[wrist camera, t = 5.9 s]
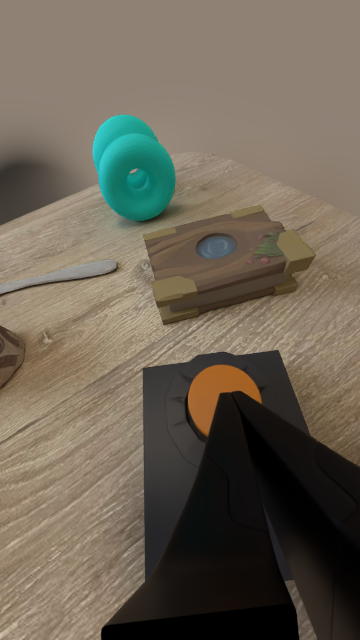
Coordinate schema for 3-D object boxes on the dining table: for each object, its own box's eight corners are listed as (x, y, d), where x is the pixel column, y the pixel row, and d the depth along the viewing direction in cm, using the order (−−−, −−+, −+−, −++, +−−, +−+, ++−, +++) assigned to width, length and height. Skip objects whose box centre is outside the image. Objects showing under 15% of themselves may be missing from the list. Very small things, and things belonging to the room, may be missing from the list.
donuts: (117, 232, 31) (83, 151, 22) (108, 198, 36) (78, 121, 27) (181, 214, 32) (173, 128, 23) (163, 182, 37) (151, 103, 28)
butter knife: (115, 273, 26) (115, 256, 27) (-99, 317, 26) (-88, 297, 27) (117, 276, 26) (116, 259, 28) (-93, 319, 26) (-83, 299, 28)
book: (163, 326, 22) (154, 298, 18) (146, 256, 28) (135, 222, 23) (295, 290, 23) (316, 254, 18) (251, 229, 28) (260, 191, 24)
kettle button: (261, 438, 11) (273, 436, 9) (194, 446, 11) (193, 446, 9) (243, 372, 13) (250, 359, 11) (186, 380, 13) (183, 368, 11)
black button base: (319, 538, 13) (392, 598, 8) (161, 555, 13) (134, 623, 8) (264, 367, 19) (287, 339, 14) (154, 382, 19) (135, 359, 14)
